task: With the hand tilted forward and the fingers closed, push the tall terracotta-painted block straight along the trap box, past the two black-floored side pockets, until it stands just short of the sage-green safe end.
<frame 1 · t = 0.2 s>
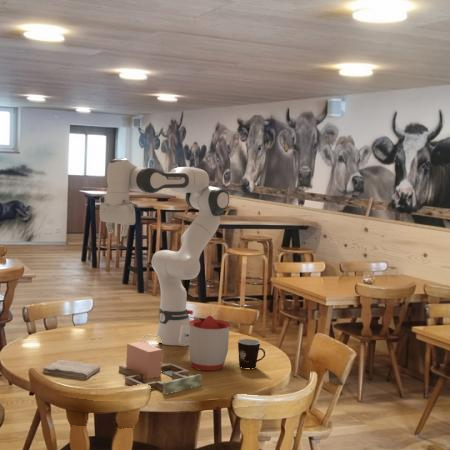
hand: (116, 234, 268), 47 cm above the table, tool pointing down, fingers open, 8 cm apart
terracotta block: (143, 373, 249), resting in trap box
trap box: (155, 378, 243), on the table
coffee mug: (249, 368, 262), on the table
citrus juicer: (206, 366, 262), on the table
washcloth: (71, 373, 246), on the table
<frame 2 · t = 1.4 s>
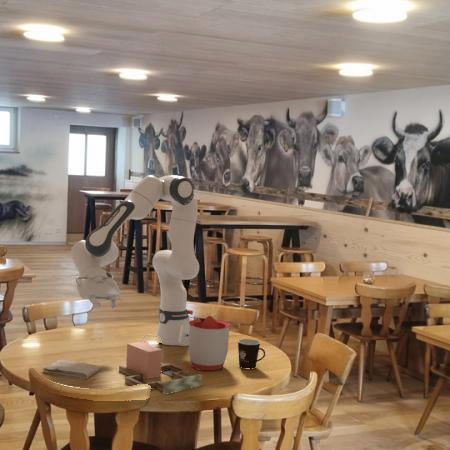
hand: (106, 307, 262), 20 cm above the table, tool tilted 45°, fingers open, 8 cm apart
nothing on the table moved.
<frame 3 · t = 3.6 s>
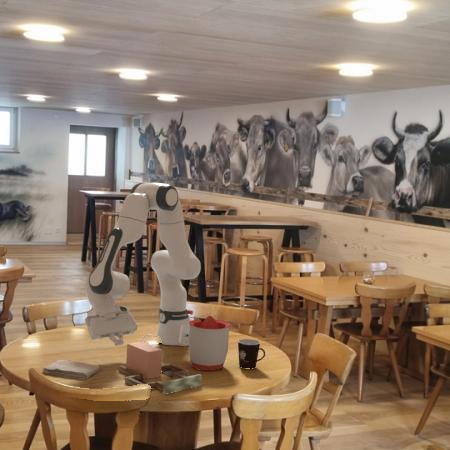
hand: (119, 344, 258), 7 cm above the table, tool tilted 45°, fingers closed
nothing on the table moved.
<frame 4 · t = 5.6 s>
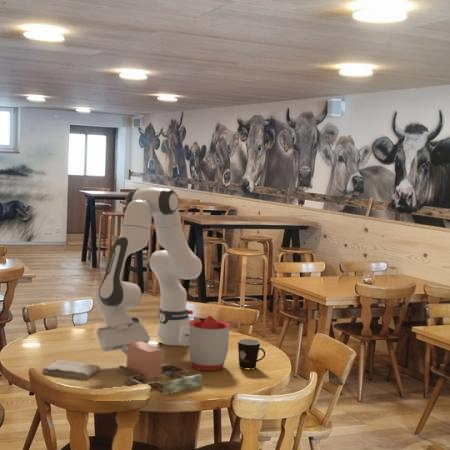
hand: (132, 356, 253), 4 cm above the table, tool tilted 45°, fingers closed, pressing on terracotta block
terracotta block: (143, 373, 248), resting in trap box, touching gripper
everything else where it was.
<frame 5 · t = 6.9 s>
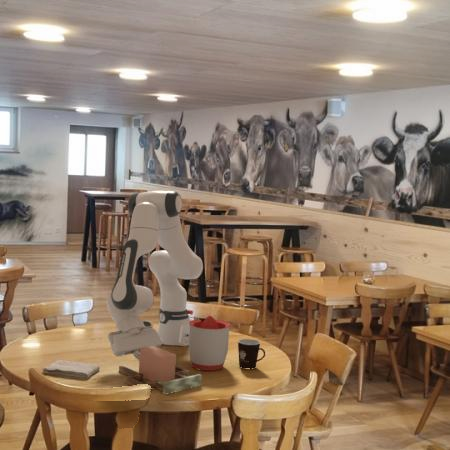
hand: (144, 361, 248), 4 cm above the table, tool tilted 45°, fingers closed, pressing on terracotta block
terracotta block: (156, 378, 243), resting in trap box, touching gripper
everything else where it was.
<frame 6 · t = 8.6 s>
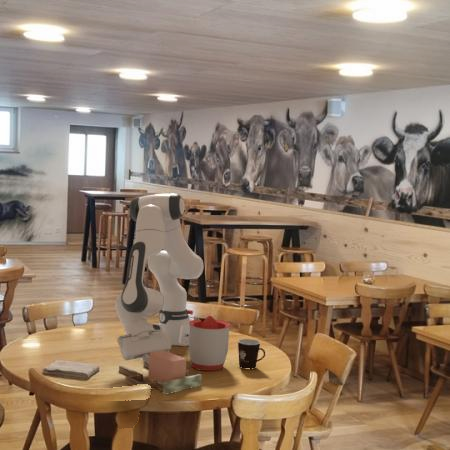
hand: (154, 365, 244), 4 cm above the table, tool tilted 45°, fingers closed
terracotta block: (166, 383, 239), resting in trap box
everything else where it was.
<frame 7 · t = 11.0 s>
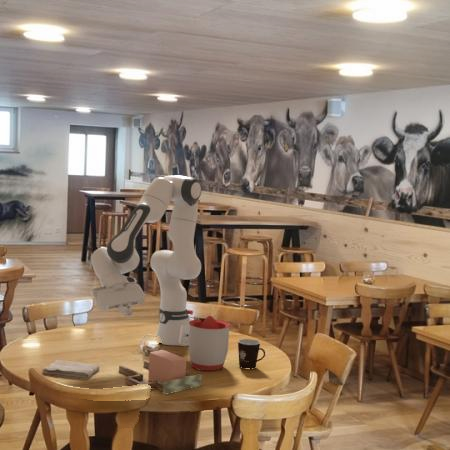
hand: (128, 315, 255), 19 cm above the table, tool tilted 45°, fingers closed
nothing on the table moved.
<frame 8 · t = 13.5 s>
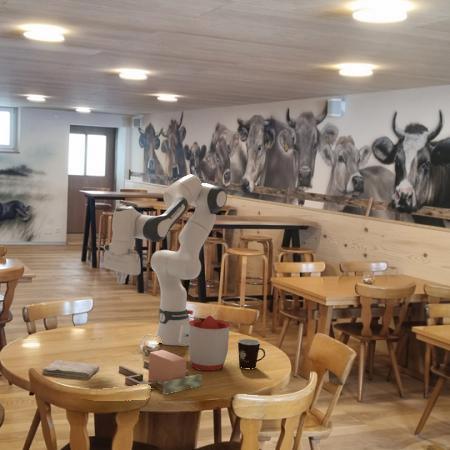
hand: (121, 283, 265), 29 cm above the table, tool pointing down, fingers closed
nothing on the table moved.
at the end: terracotta block inside the target area (1.6 cm from its centre), resting in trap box; terracotta block tilted 0°; terracotta block moved 13.4 cm from its start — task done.
